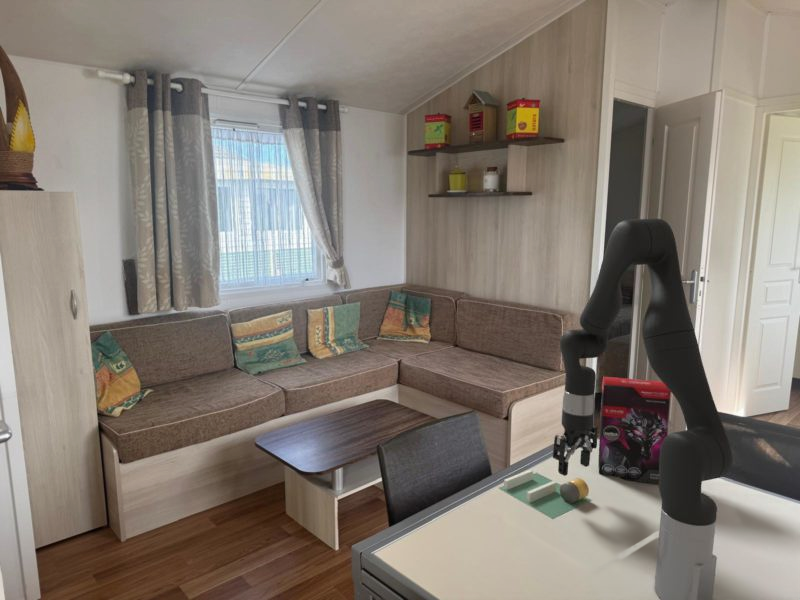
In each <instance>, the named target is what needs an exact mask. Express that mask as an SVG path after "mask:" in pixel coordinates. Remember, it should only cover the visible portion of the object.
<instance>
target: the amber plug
mask: <svg viewBox="0 0 800 600" xmlns="http://www.w3.org/2000/svg"><path fill="white" fill-rule="evenodd" d="M560 485H561V487H560V494H561V497H562V498H563V500H564V501H566V502H567V503H574V502H576V501H578V500H580V499H582V498H584V497H588V496H589V492H590V491H589V490H590V489H589V486H588V484H587V482H586V481H585V480H584V479H582V478H580V477H578V478H577V477H576V478H574V479H572V480H570V481H567V482H565V483H563V484H560Z"/></svg>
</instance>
